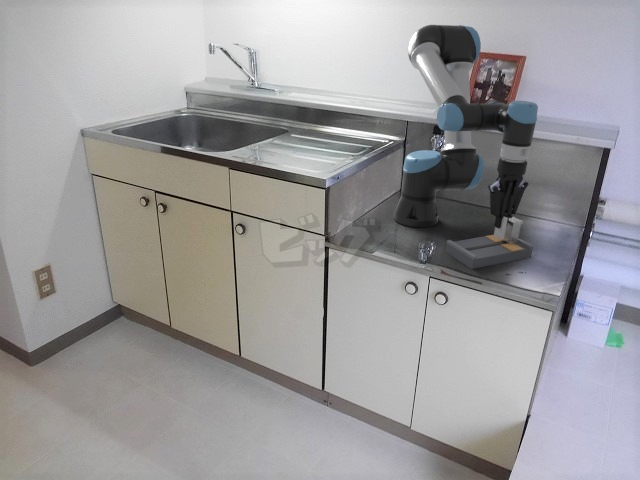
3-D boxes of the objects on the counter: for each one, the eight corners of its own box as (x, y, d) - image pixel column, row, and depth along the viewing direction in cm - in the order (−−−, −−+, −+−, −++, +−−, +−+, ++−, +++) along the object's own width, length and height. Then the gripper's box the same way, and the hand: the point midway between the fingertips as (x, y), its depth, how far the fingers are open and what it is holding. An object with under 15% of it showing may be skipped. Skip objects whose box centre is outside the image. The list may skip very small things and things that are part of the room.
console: (445, 252, 154) (446, 240, 152) (502, 241, 162) (504, 230, 161) (471, 269, 144) (473, 256, 142) (530, 257, 152) (533, 245, 151)
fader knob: (498, 238, 156) (502, 216, 153) (507, 236, 157) (512, 215, 154) (509, 244, 152) (513, 222, 149) (518, 242, 153) (523, 220, 150)
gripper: (505, 164, 137) (490, 245, 146) (541, 160, 142) (524, 239, 151) (485, 157, 143) (472, 235, 153) (521, 154, 148) (506, 229, 158)
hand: (498, 237), depth 152 cm, fingers closed
